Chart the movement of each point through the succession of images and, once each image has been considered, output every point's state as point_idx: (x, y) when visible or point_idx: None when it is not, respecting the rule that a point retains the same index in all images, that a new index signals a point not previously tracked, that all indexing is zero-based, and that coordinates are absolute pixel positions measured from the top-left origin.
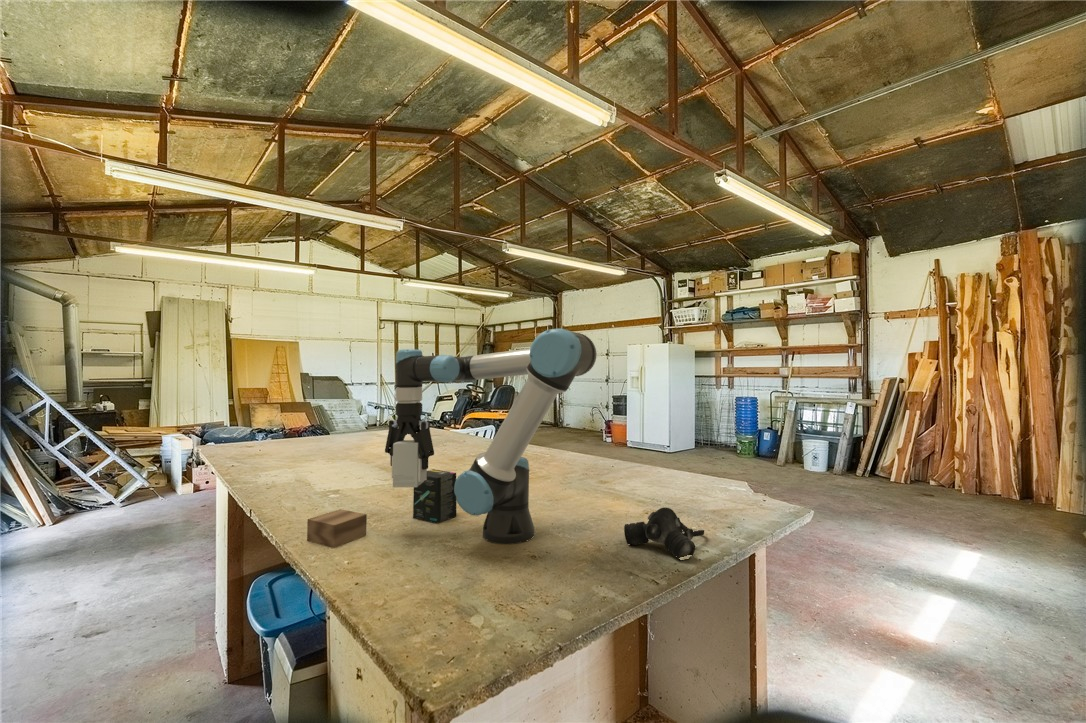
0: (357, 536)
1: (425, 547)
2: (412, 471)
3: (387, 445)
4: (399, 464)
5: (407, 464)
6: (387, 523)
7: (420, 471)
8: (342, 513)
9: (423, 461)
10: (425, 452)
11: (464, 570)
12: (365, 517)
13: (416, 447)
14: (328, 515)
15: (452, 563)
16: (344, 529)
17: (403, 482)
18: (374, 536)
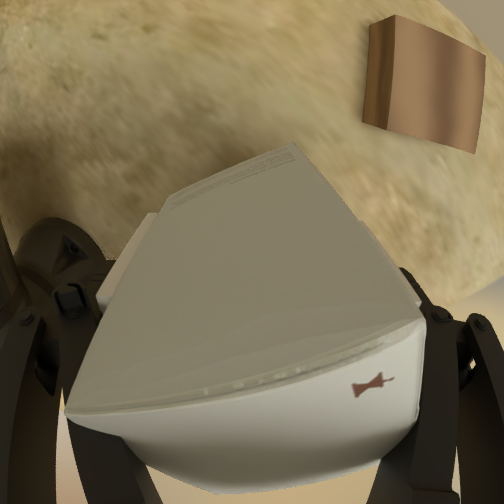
0: (367, 92)
1: (149, 117)
2: (172, 219)
3: (494, 357)
4: (265, 199)
5: (197, 228)
6: (367, 217)
7: (129, 242)
8: (451, 118)
9: (94, 293)
10: (30, 330)
11: (19, 84)
12: (383, 124)
13: (85, 371)
14: (468, 93)
15: (48, 89)
16: (384, 49)
17: (234, 170)
18: (336, 121)
